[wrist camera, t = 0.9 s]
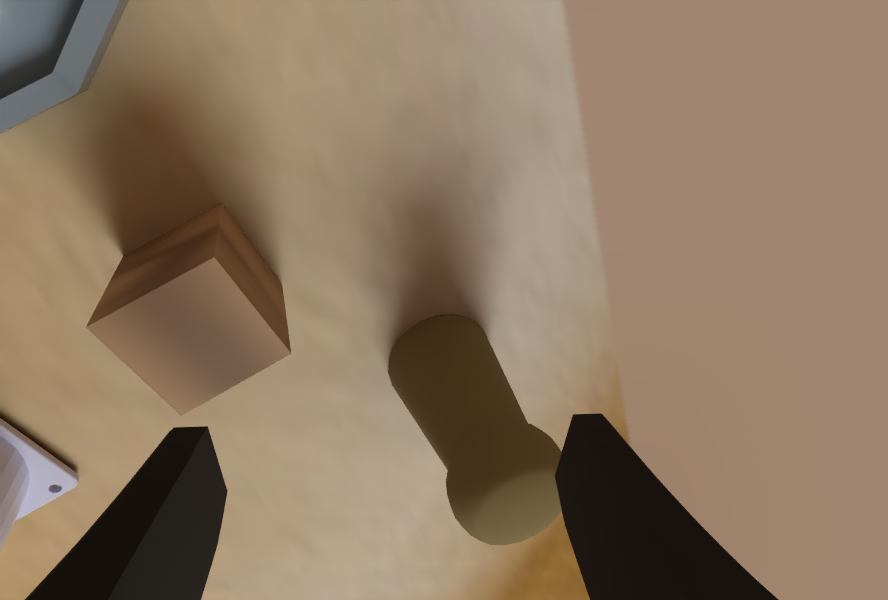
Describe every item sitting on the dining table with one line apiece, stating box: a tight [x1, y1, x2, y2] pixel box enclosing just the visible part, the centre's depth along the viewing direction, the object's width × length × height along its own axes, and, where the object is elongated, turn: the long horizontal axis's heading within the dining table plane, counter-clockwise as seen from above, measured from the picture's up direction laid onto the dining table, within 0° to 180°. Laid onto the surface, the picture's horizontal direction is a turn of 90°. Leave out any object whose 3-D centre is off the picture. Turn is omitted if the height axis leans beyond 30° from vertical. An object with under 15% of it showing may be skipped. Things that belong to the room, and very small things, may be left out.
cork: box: [388, 315, 562, 545], centre depth 25 cm, size 6×6×11 cm
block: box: [86, 203, 291, 416], centre depth 20 cm, size 5×5×6 cm
